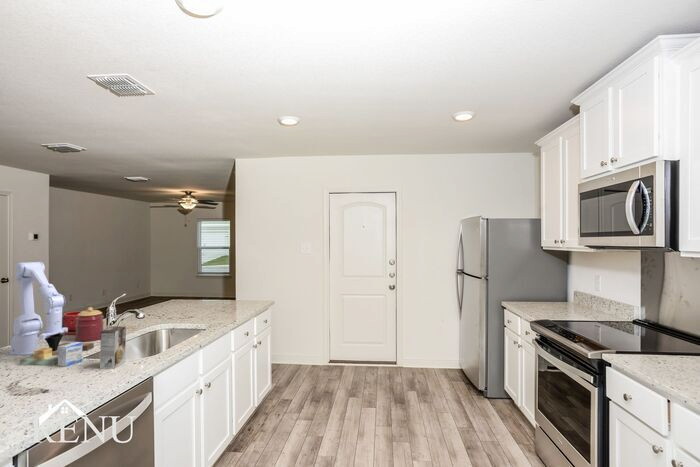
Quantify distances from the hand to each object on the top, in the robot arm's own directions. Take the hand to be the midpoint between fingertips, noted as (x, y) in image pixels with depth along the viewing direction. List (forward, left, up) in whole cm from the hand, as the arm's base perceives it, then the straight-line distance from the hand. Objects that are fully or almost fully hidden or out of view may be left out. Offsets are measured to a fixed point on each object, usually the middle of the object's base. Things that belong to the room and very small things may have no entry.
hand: (53, 350), depth 172 cm
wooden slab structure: (0, +3, -3) cm, 5 cm away
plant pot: (-22, +46, -4) cm, 52 cm away
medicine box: (+13, -8, -4) cm, 15 cm away
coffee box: (+33, -10, -4) cm, 35 cm away
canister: (-6, +34, -4) cm, 34 cm away
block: (0, -7, -1) cm, 7 cm away
